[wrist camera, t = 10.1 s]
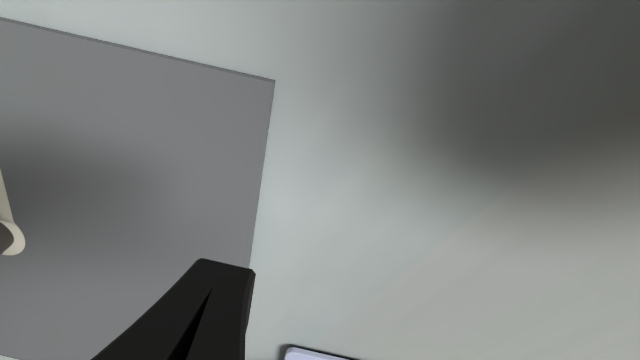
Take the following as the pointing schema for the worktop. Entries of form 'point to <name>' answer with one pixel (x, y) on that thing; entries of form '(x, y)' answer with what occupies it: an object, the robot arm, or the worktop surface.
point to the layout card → (115, 183)
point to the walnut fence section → (5, 238)
